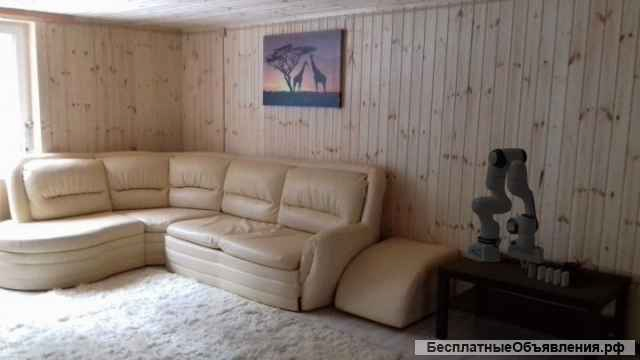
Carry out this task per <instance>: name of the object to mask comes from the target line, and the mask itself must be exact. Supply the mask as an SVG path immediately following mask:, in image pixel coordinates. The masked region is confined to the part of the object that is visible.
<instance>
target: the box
mask: <svg viewBox="0 0 640 360" xmlns="http://www.w3.org/2000/svg"><path fill="white" fill-rule="evenodd" d="M580 271H581V264H580V263H577V262H576V261H575V262H574V261H564V264H563V272H569V279H572V278H580Z"/></svg>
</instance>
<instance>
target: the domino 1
mask: <svg viewBox="0 0 640 360" xmlns="http://www.w3.org/2000/svg"><path fill="white" fill-rule="evenodd" d="M536 267H537V263H529V265H528V268H527V269H528V270H527V278H530V279H531V278H535V277H536V271H537V270H536V269H537V268H536Z"/></svg>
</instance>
